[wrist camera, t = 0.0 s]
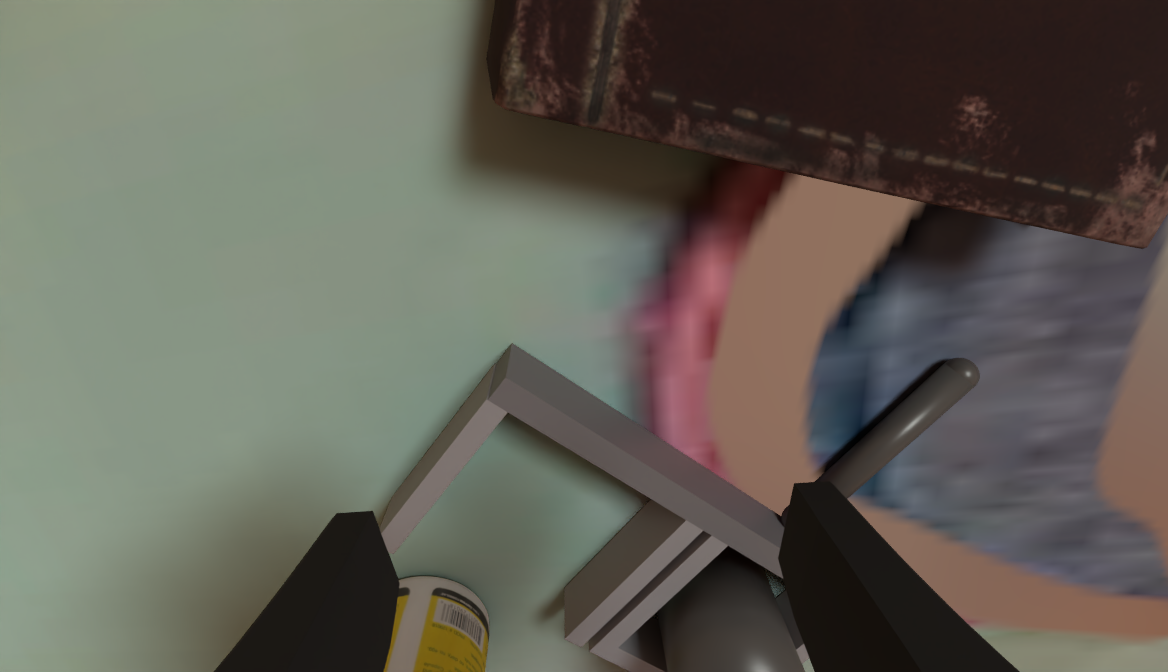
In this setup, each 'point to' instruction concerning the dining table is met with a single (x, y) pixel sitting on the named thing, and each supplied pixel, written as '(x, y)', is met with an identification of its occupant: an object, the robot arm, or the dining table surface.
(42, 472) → the dining table surface
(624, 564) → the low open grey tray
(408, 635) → the supplement bottle
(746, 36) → the diary
